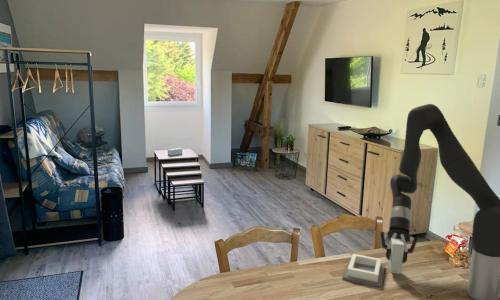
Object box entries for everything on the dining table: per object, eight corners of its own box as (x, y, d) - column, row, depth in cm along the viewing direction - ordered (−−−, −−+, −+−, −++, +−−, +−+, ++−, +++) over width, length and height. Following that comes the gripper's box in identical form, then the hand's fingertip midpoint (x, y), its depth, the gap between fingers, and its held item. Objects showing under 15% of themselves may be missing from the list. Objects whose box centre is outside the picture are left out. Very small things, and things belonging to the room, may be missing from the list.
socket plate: (384, 267, 154) (385, 258, 153) (381, 287, 140) (382, 277, 139) (349, 260, 160) (349, 251, 159) (342, 279, 145) (343, 269, 145)
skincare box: (402, 274, 146) (404, 245, 143) (390, 272, 147) (392, 244, 144) (399, 266, 151) (402, 238, 149) (388, 265, 152) (390, 237, 150)
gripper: (381, 213, 153) (376, 254, 145) (420, 218, 148) (417, 261, 139) (381, 220, 159) (376, 260, 151) (419, 226, 154) (416, 268, 145)
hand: (396, 260), depth 145 cm, fingers closed on skincare box, 4 cm apart
